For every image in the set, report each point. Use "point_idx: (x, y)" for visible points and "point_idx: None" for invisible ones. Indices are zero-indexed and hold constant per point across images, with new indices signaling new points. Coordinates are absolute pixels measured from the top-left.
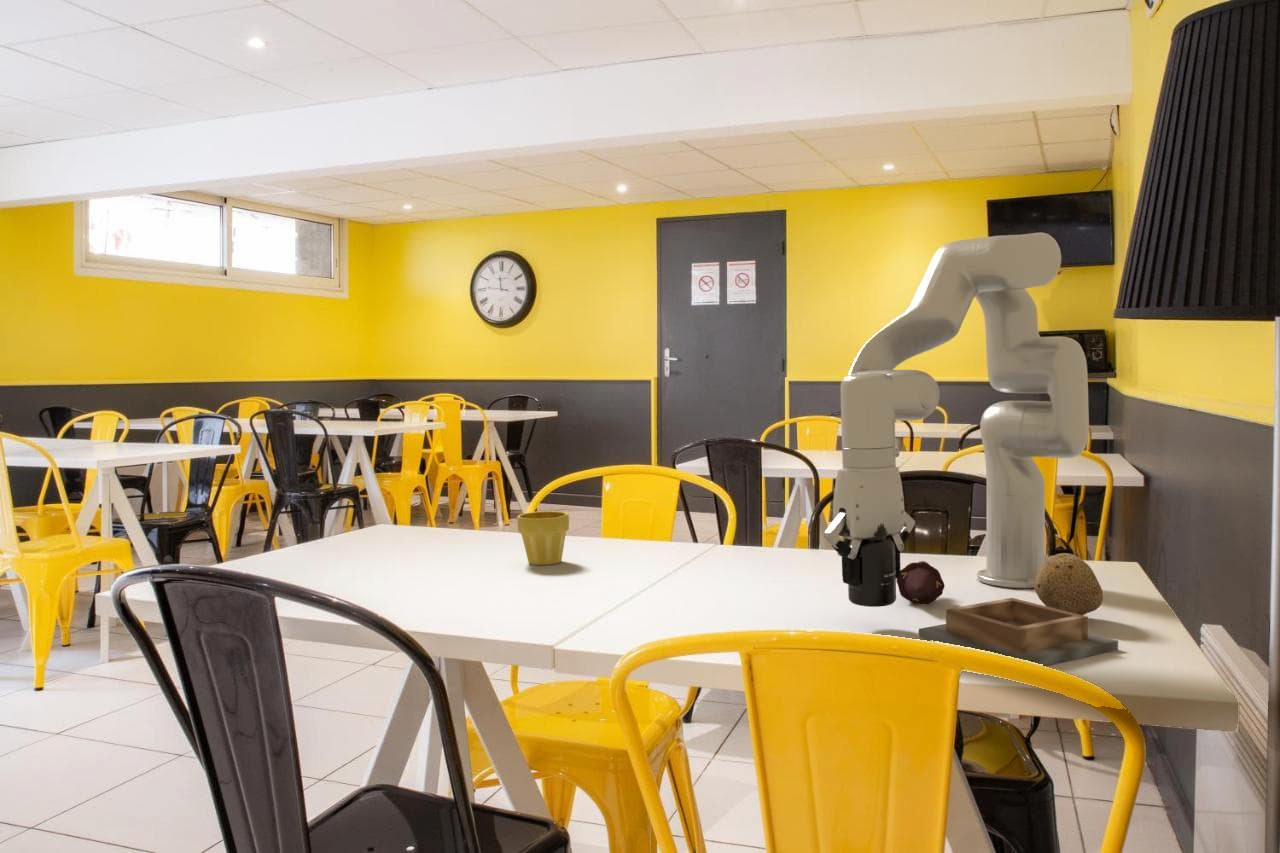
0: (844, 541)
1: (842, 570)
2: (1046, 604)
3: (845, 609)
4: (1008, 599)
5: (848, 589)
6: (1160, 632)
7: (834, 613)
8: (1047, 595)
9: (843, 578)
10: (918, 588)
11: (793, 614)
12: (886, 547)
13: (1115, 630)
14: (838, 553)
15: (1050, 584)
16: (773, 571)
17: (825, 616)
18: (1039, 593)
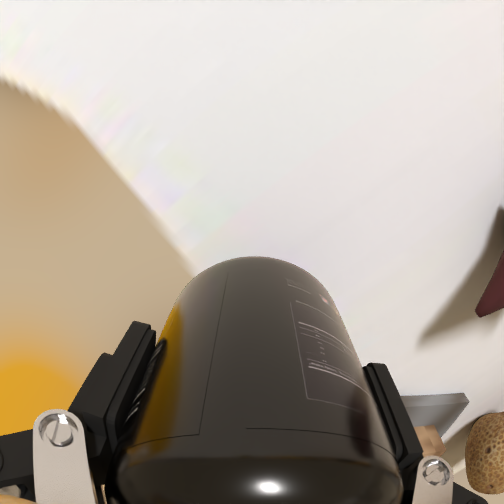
0: (50, 499)
1: (91, 373)
2: (480, 431)
3: (376, 98)
4: (432, 455)
5: (177, 302)
6: (456, 468)
7: (312, 100)
8: (474, 451)
9: (130, 331)
10: (479, 311)
11: (204, 24)
12: None
13: (451, 457)
14: (40, 421)
15: (474, 470)
16: None
17: (260, 103)
18: (486, 439)
